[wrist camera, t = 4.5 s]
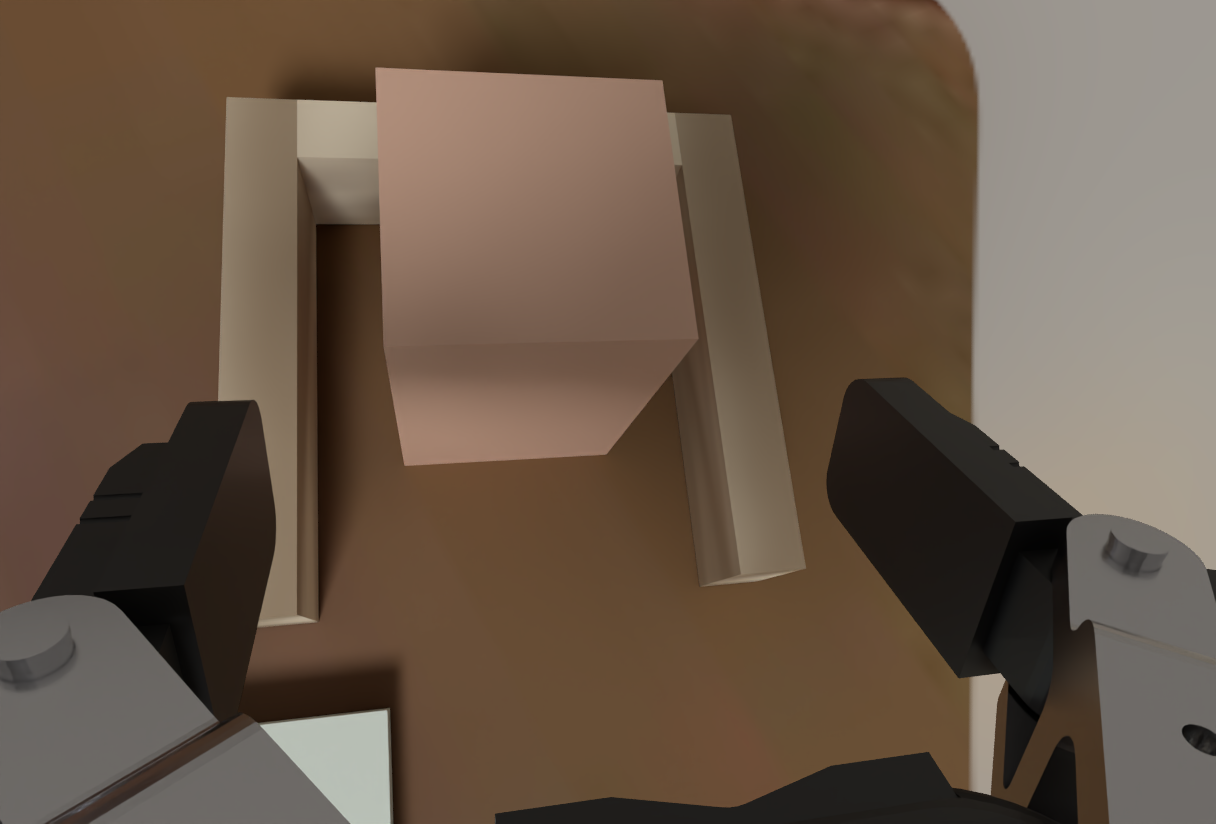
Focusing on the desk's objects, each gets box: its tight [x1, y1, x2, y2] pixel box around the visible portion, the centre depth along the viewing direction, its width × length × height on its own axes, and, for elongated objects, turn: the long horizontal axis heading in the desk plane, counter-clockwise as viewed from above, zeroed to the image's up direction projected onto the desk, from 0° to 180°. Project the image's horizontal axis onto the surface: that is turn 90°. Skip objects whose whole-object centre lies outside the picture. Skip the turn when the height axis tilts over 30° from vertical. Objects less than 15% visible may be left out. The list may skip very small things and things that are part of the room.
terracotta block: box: [376, 68, 699, 466], centre depth 17 cm, size 5×5×8 cm
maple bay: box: [218, 97, 806, 628], centre depth 20 cm, size 12×12×3 cm
